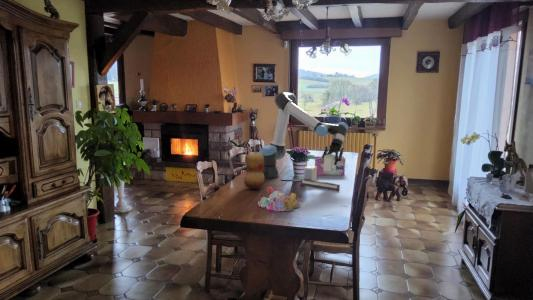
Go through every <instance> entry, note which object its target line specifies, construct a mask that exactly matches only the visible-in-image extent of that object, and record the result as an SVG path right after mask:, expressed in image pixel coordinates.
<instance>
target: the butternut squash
mask: <svg viewBox="0 0 533 300" xmlns="http://www.w3.org/2000/svg"><path fill="white" fill-rule="evenodd" d="M245 166H246V167H245V168H246V172H245V175H244V179H243V181H244V182H243V183H244V185H245V187H246V188H248V189H250V190H258V189H261V187H263V186H264V183H265V178H264V174H263V168H264V156H263V154H261V152H259V151H251V152H249V153H248V154H247V156H246V161H245Z"/></svg>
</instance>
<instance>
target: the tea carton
mask: <svg viewBox="0 0 533 300" xmlns="http://www.w3.org/2000/svg"><path fill="white" fill-rule="evenodd" d="M335 156H336V155H335V154H328V155H325V156H324V167H323V173H326V174H333V173H335V172H336V165H335V167H334V169H333V170H332V168H331V167H332V164H333V162H334V160H336V159H335Z"/></svg>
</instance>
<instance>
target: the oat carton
mask: <svg viewBox="0 0 533 300" xmlns="http://www.w3.org/2000/svg"><path fill="white" fill-rule="evenodd" d="M303 168H304V170H303V171H304V172H303V173H304V174H303V179H307V180H314V181H318V180H317V177H318V175H317V167H315V165H308V166H305V167H303Z"/></svg>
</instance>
